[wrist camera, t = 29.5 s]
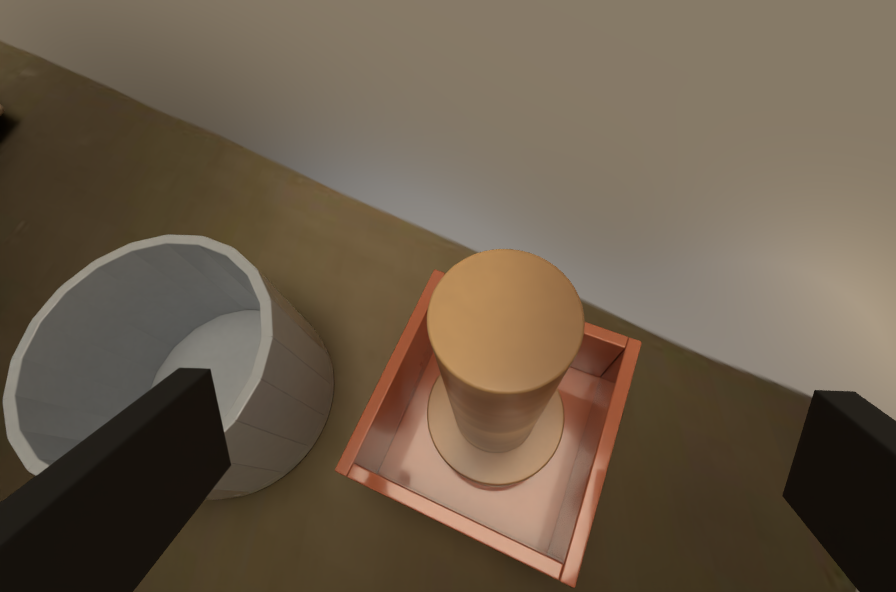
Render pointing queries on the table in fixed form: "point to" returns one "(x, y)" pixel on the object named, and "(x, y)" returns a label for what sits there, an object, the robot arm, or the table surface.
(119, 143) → the table surface
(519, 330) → the wooden peg
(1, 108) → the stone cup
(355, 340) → the table surface
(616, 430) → the red square box
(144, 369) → the gray round bin
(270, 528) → the table surface
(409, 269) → the table surface
